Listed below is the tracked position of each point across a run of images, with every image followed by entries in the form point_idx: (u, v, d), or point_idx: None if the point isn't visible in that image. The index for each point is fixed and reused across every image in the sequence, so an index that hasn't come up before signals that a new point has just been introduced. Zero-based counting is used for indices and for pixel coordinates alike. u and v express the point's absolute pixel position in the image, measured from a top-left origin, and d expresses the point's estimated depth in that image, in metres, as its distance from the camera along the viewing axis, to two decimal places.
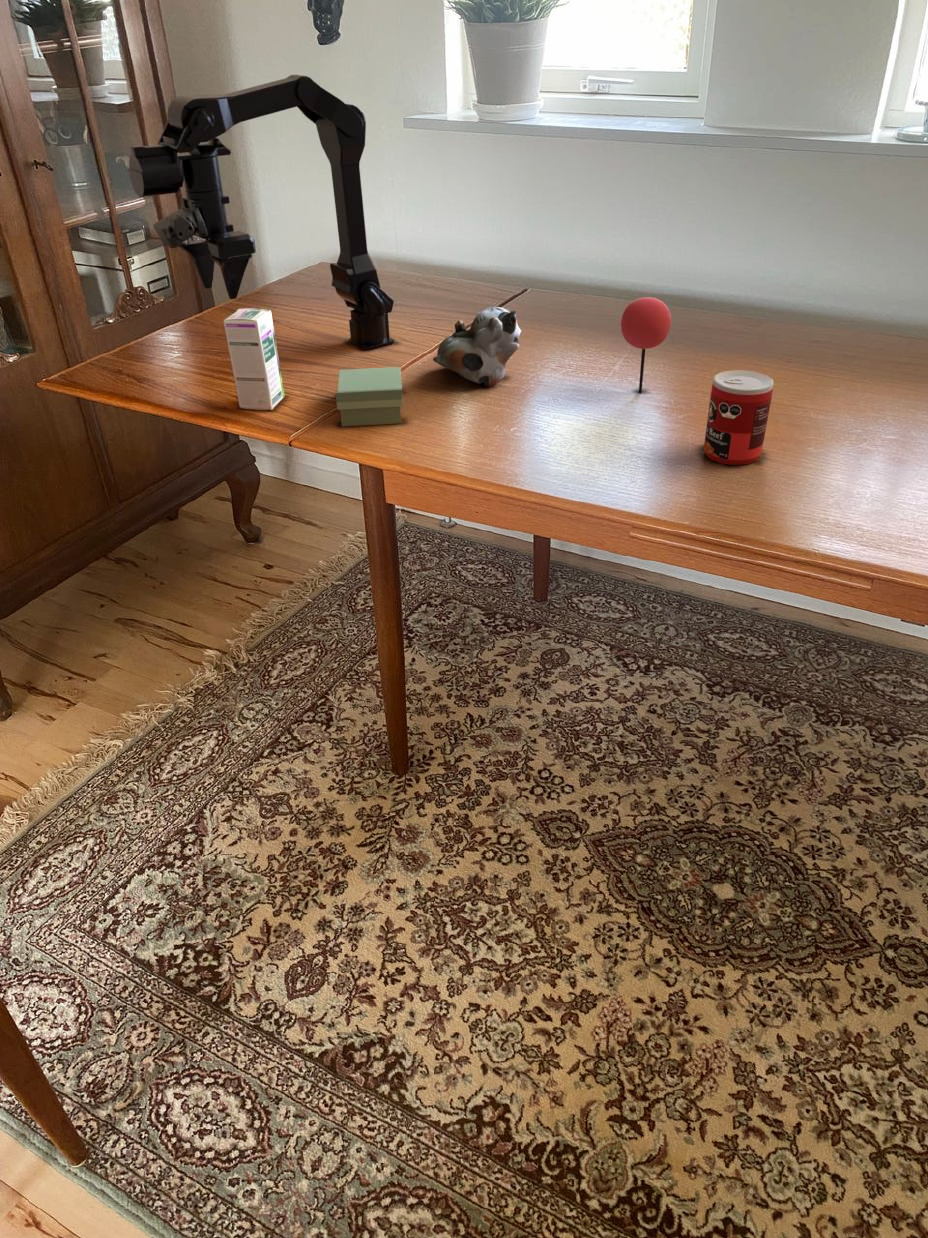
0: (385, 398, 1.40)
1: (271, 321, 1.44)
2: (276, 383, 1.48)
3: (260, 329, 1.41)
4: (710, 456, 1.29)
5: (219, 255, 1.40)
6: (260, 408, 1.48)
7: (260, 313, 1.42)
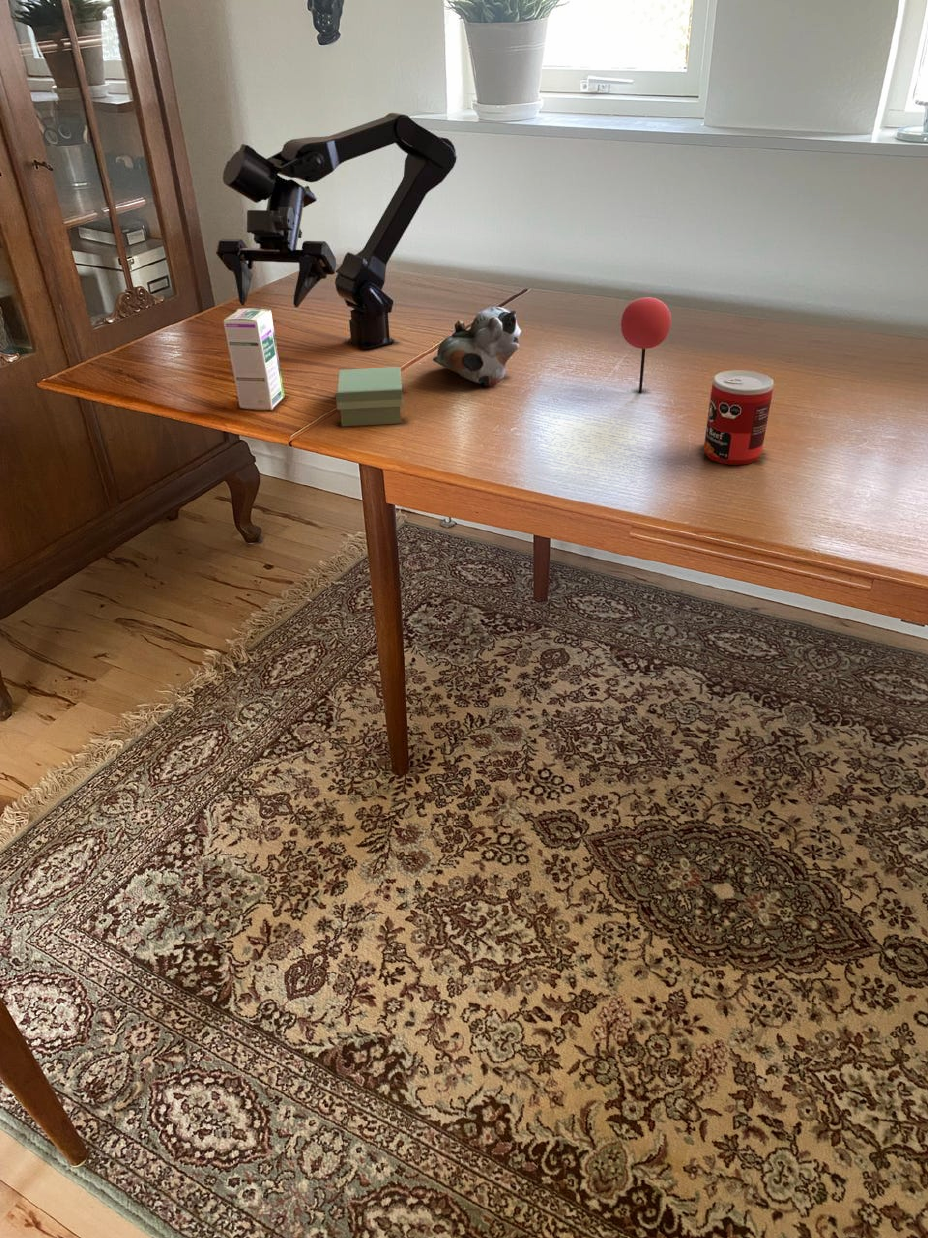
0: (385, 398, 1.40)
1: (271, 321, 1.44)
2: (276, 383, 1.48)
3: (260, 329, 1.41)
4: (710, 456, 1.29)
5: (321, 251, 1.45)
6: (260, 408, 1.48)
7: (260, 313, 1.42)
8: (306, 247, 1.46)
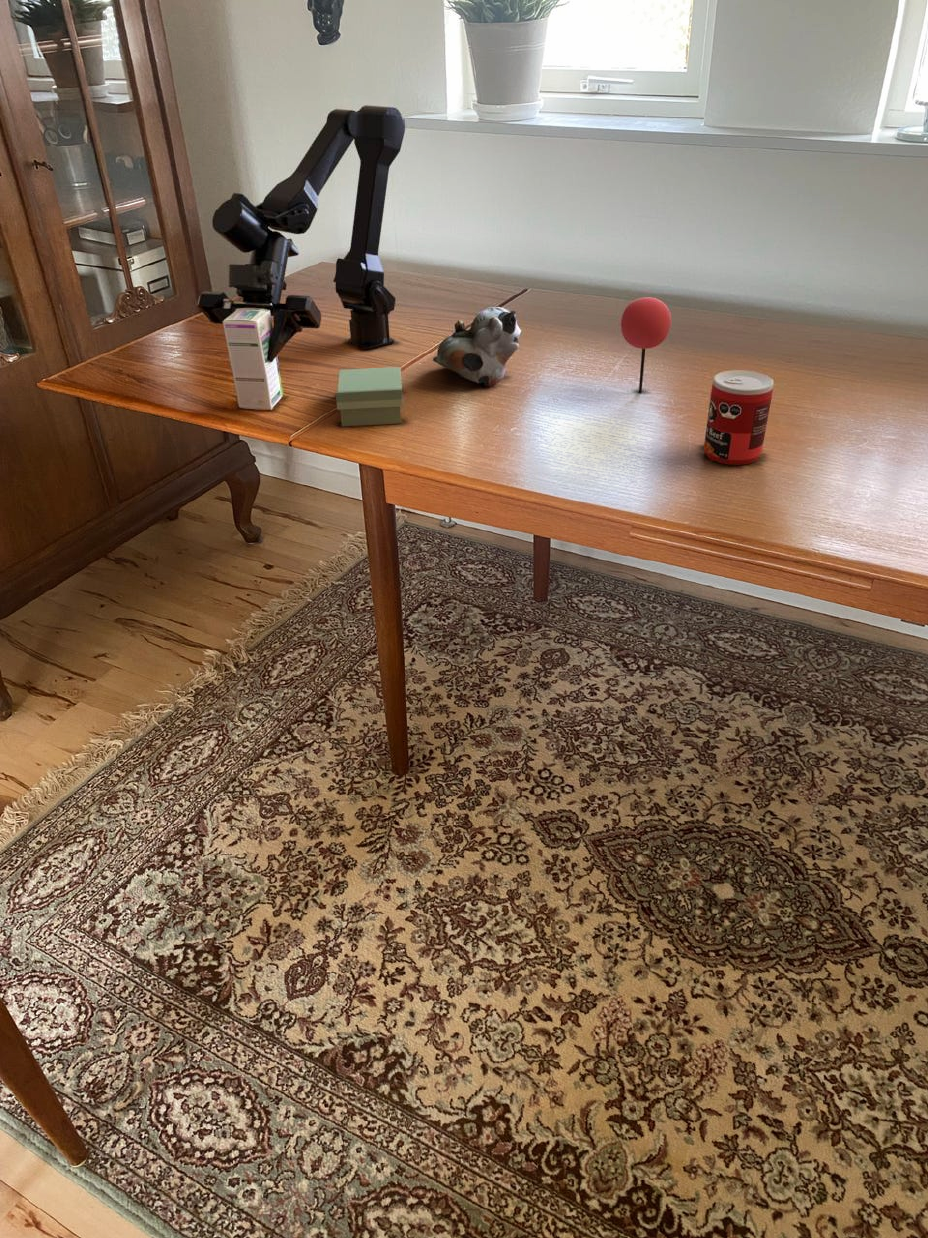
0: (385, 398, 1.40)
1: (270, 321, 1.44)
2: (275, 383, 1.48)
3: (260, 330, 1.40)
4: (710, 456, 1.29)
5: (305, 307, 1.41)
6: (259, 408, 1.48)
7: (259, 313, 1.42)
8: (290, 302, 1.42)
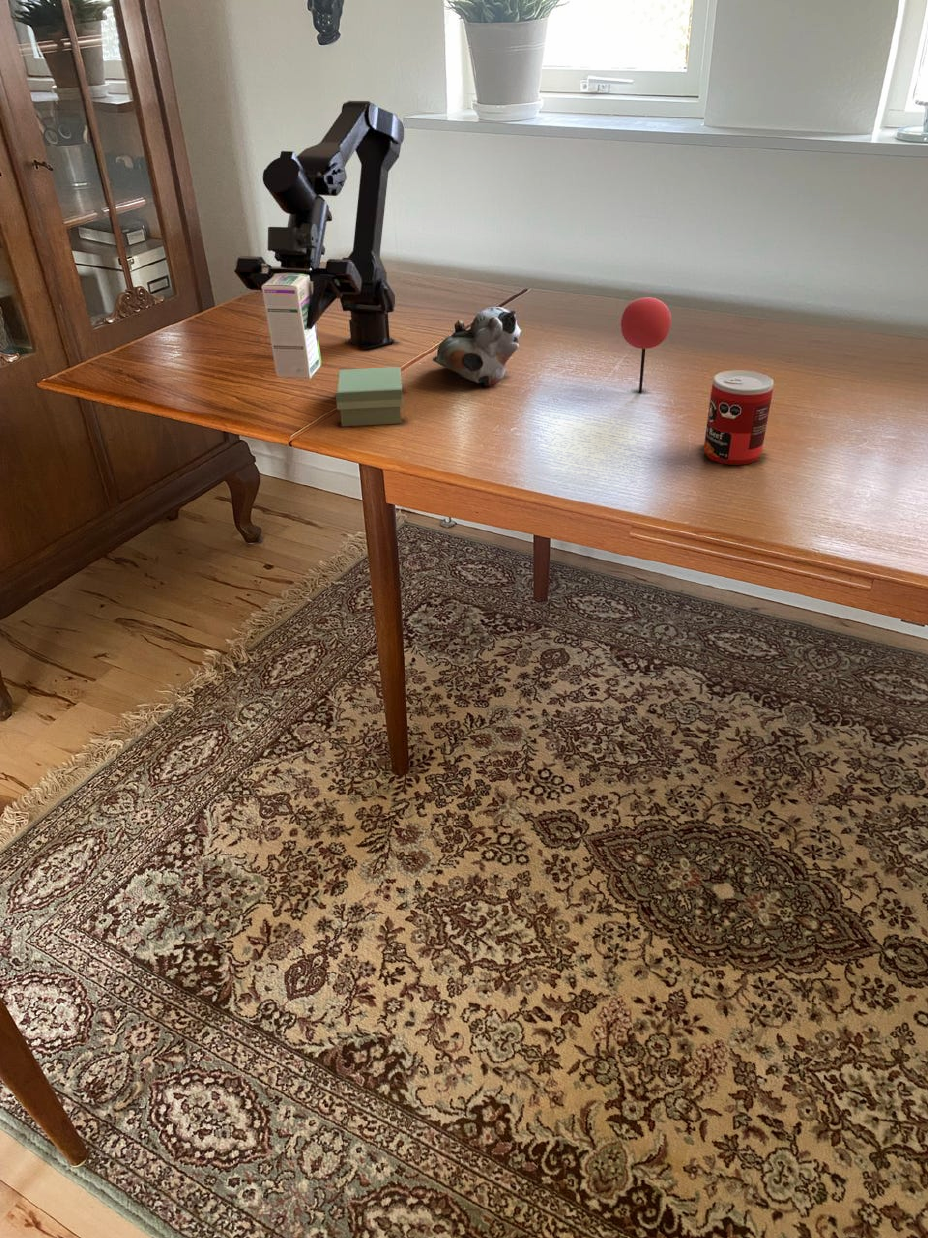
0: (385, 398, 1.40)
1: (309, 286, 1.39)
2: (314, 351, 1.43)
3: (300, 295, 1.36)
4: (710, 456, 1.29)
5: (346, 271, 1.37)
6: (298, 377, 1.43)
7: (299, 278, 1.37)
8: (330, 266, 1.37)
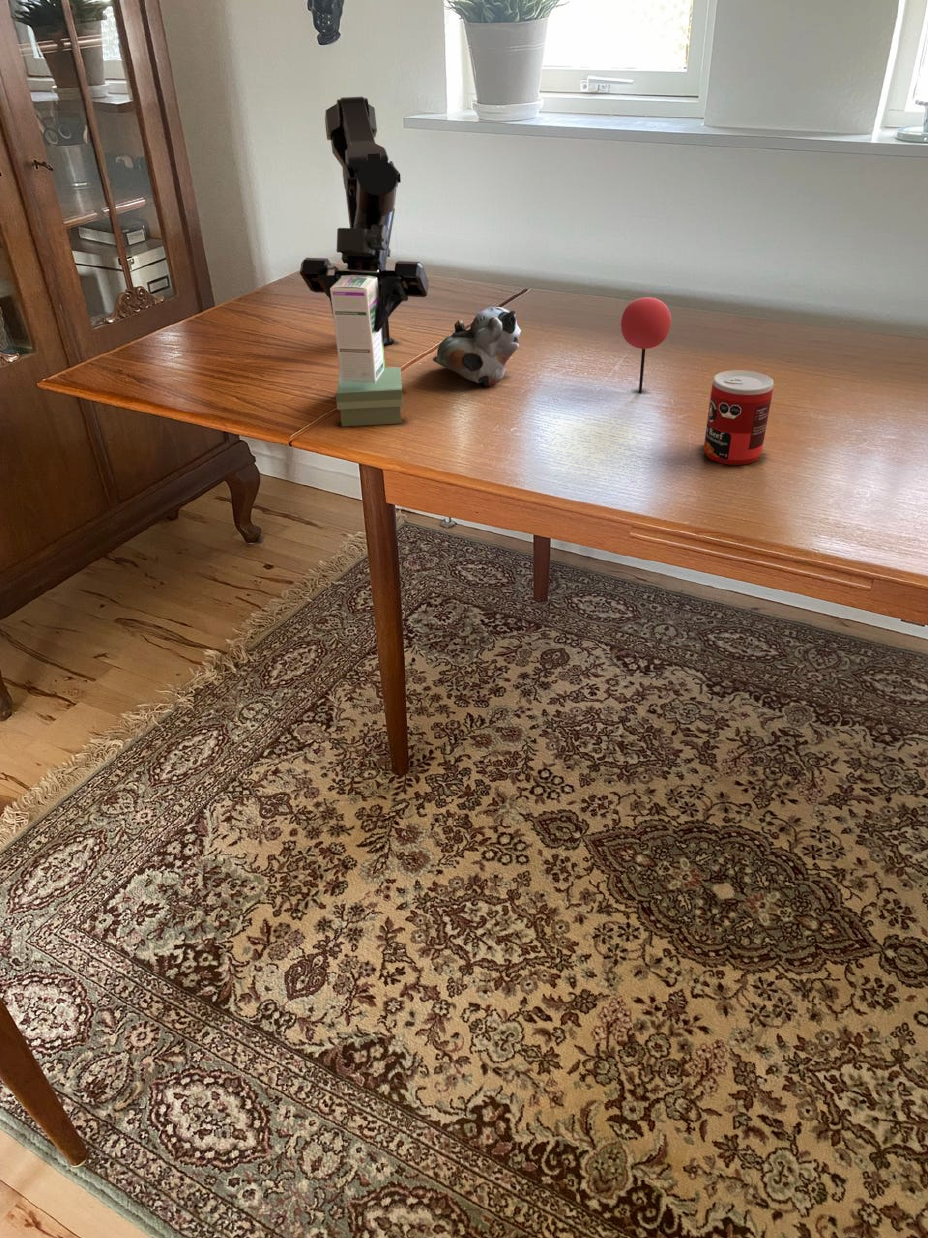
0: (385, 398, 1.40)
1: (377, 289, 1.37)
2: (380, 355, 1.41)
3: (369, 298, 1.33)
4: (710, 456, 1.29)
5: (416, 273, 1.34)
6: (363, 381, 1.41)
7: (367, 280, 1.35)
8: (399, 268, 1.35)
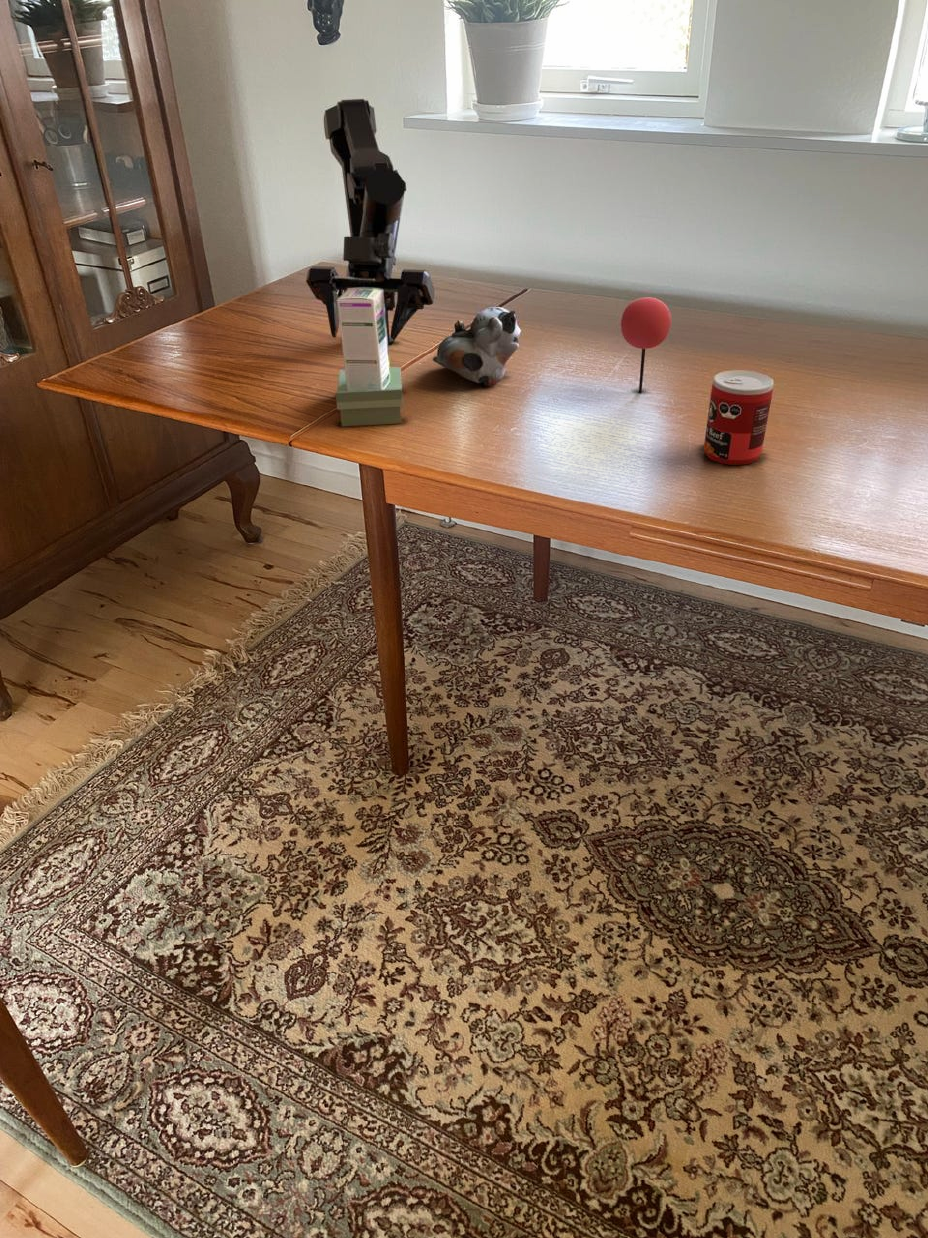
0: (385, 398, 1.40)
1: (383, 300, 1.38)
2: (386, 366, 1.42)
3: (375, 309, 1.35)
4: (710, 456, 1.29)
5: (422, 281, 1.35)
6: None
7: (374, 292, 1.36)
8: (406, 276, 1.35)
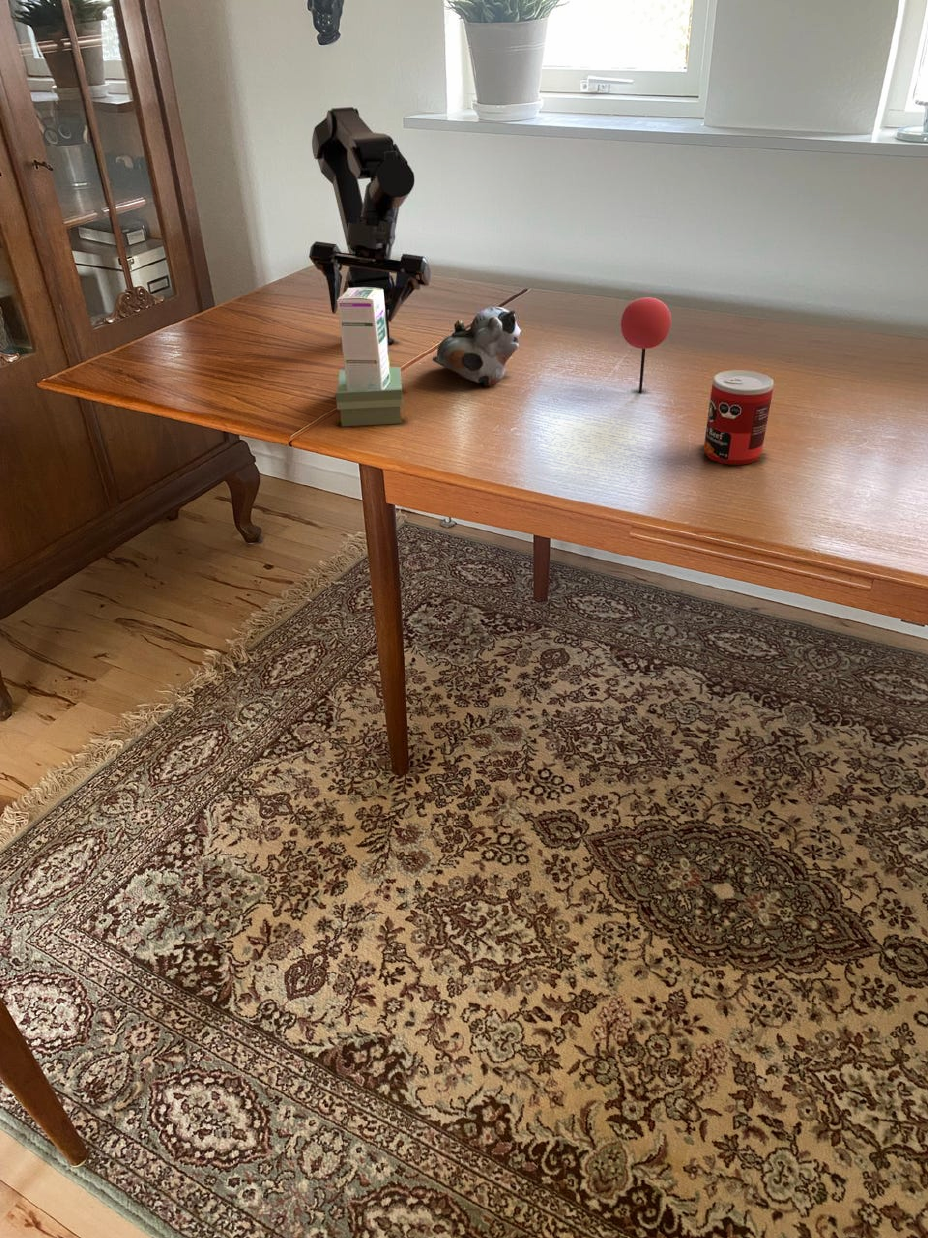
0: (385, 398, 1.40)
1: (383, 300, 1.38)
2: (386, 366, 1.42)
3: (375, 309, 1.35)
4: (710, 456, 1.29)
5: (420, 269, 1.43)
6: None
7: (374, 292, 1.36)
8: (405, 262, 1.43)
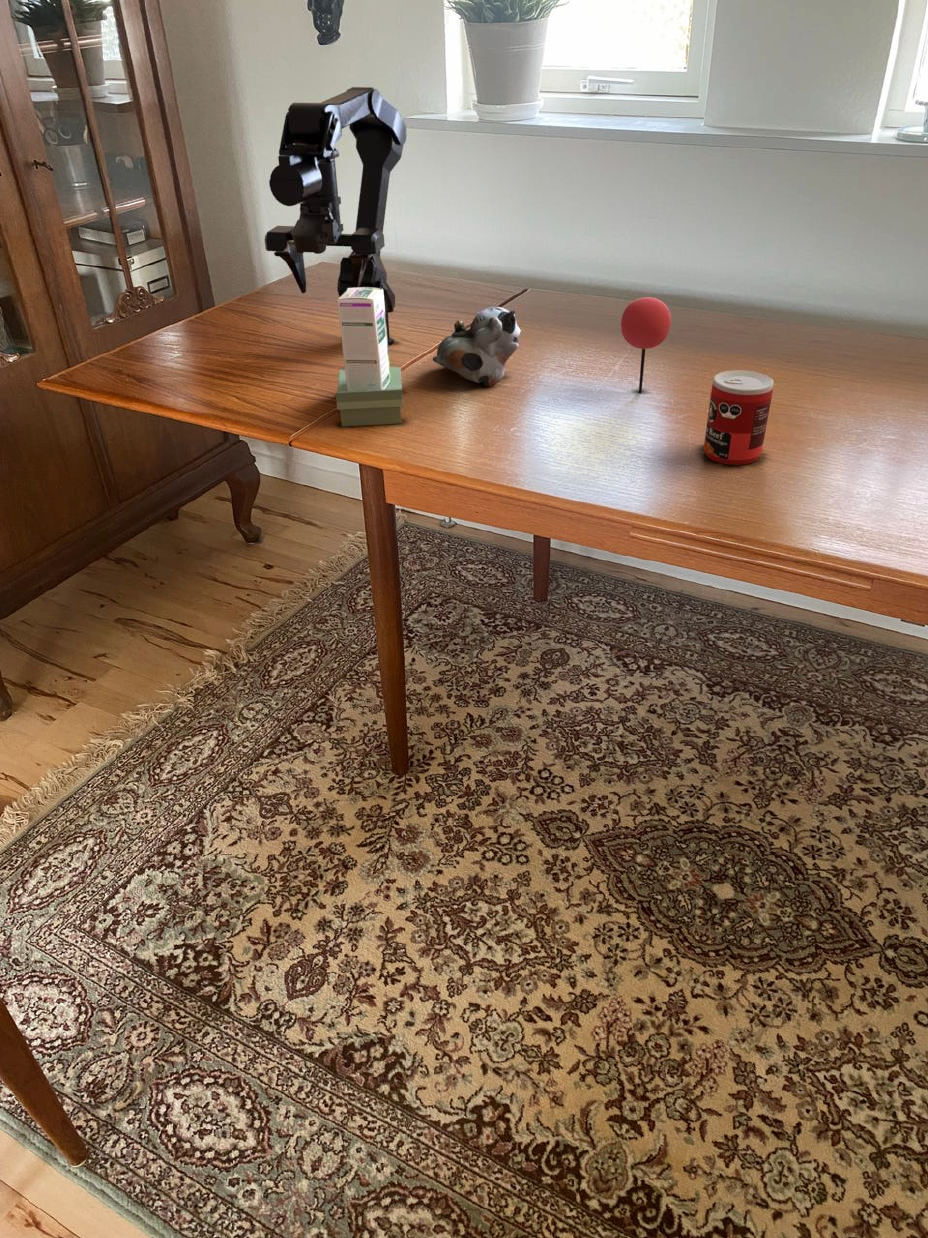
0: (385, 398, 1.40)
1: (383, 300, 1.38)
2: (386, 366, 1.42)
3: (375, 309, 1.35)
4: (710, 456, 1.29)
5: (371, 251, 1.46)
6: None
7: (374, 292, 1.36)
8: (355, 247, 1.46)
